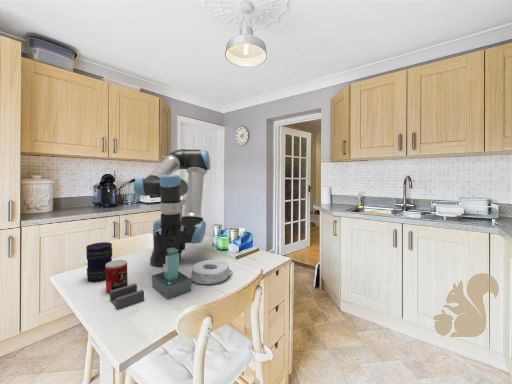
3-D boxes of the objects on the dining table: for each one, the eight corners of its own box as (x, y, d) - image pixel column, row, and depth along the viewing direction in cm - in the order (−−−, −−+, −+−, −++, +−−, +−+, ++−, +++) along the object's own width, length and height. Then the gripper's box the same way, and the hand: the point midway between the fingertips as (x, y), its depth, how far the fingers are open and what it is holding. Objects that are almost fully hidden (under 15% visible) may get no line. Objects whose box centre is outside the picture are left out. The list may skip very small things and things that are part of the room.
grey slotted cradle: (110, 300, 91) (109, 291, 90) (135, 291, 97) (135, 283, 97) (117, 309, 84) (117, 300, 84) (144, 300, 91) (144, 291, 90)
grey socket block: (152, 287, 101) (152, 273, 101) (174, 279, 108) (174, 267, 108) (167, 299, 91) (167, 284, 91) (191, 290, 99) (191, 276, 98)
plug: (164, 278, 99) (164, 249, 98) (173, 275, 102) (173, 247, 101) (168, 281, 96) (168, 251, 96) (178, 278, 99) (178, 249, 99)
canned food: (112, 295, 94) (111, 268, 93) (102, 290, 98) (101, 263, 97) (131, 288, 100) (131, 262, 99) (121, 283, 104) (120, 258, 103)
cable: (234, 272, 119) (234, 260, 118) (221, 288, 102) (221, 274, 101) (201, 268, 122) (201, 256, 122) (183, 283, 105) (183, 270, 105)
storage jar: (83, 283, 103) (81, 249, 102) (92, 274, 113) (90, 242, 112) (109, 281, 106) (108, 247, 105) (115, 272, 115) (115, 241, 114)
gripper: (153, 216, 89) (154, 278, 90) (194, 212, 101) (194, 266, 103) (145, 214, 94) (146, 272, 96) (185, 210, 106) (185, 262, 108)
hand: (171, 269), depth 99 cm, fingers closed on plug, 4 cm apart
